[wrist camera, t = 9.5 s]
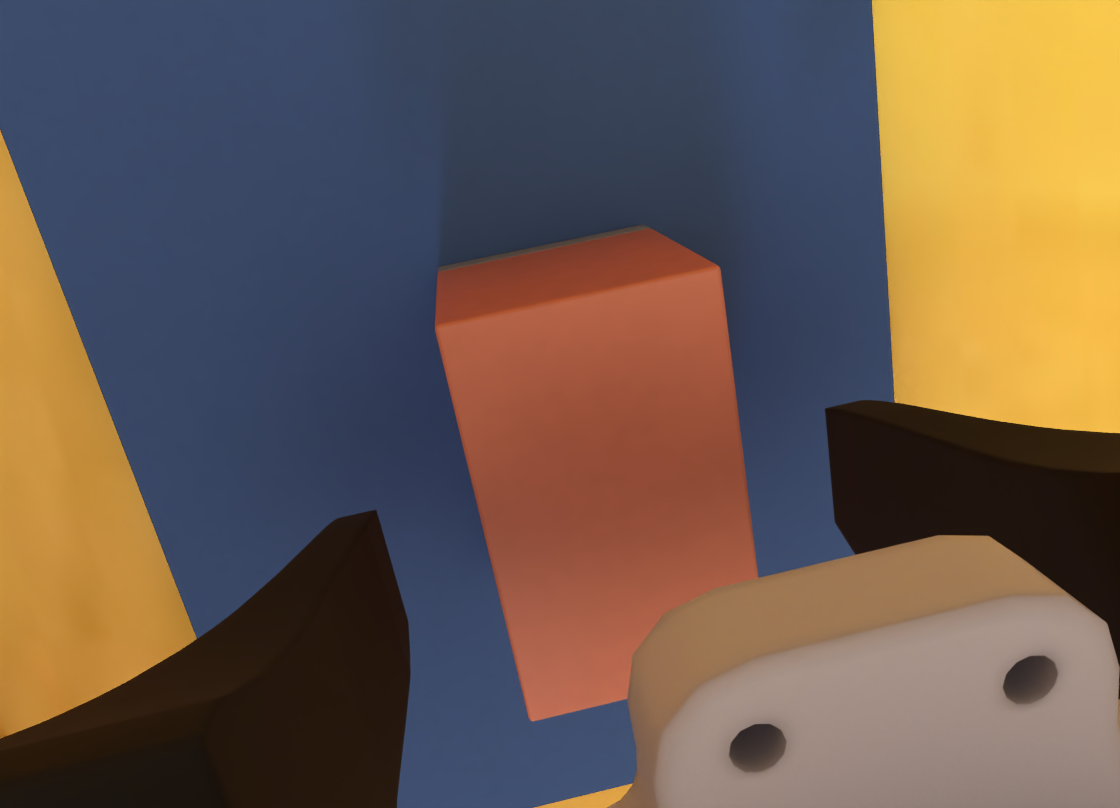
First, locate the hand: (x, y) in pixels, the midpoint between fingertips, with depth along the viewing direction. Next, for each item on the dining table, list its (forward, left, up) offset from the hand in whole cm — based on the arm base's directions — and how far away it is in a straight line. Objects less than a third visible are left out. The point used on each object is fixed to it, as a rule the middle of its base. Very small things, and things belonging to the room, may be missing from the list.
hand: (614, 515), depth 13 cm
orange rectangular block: (0, 0, -5) cm, 5 cm away
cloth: (-1, 0, -5) cm, 5 cm away
